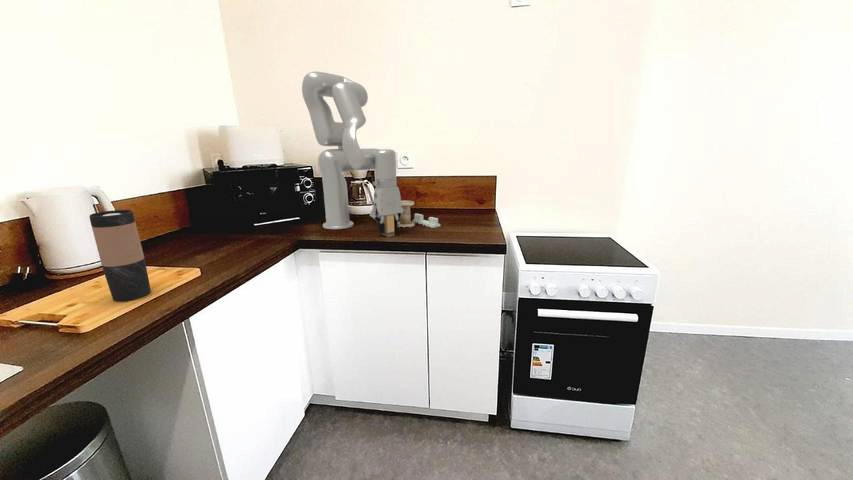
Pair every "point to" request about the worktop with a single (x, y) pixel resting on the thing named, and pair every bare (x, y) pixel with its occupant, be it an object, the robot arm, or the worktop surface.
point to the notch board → (431, 223)
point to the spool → (406, 215)
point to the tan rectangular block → (389, 225)
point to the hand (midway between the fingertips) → (388, 231)
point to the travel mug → (121, 254)
